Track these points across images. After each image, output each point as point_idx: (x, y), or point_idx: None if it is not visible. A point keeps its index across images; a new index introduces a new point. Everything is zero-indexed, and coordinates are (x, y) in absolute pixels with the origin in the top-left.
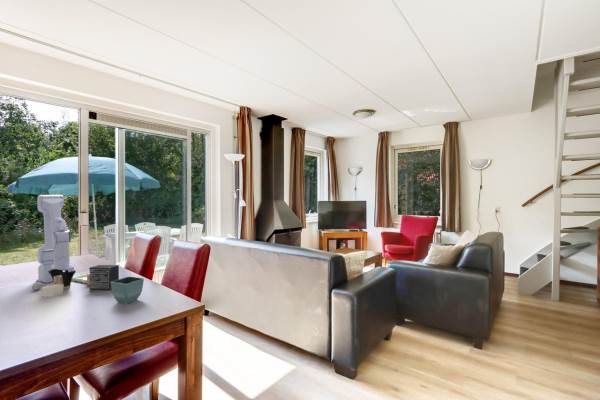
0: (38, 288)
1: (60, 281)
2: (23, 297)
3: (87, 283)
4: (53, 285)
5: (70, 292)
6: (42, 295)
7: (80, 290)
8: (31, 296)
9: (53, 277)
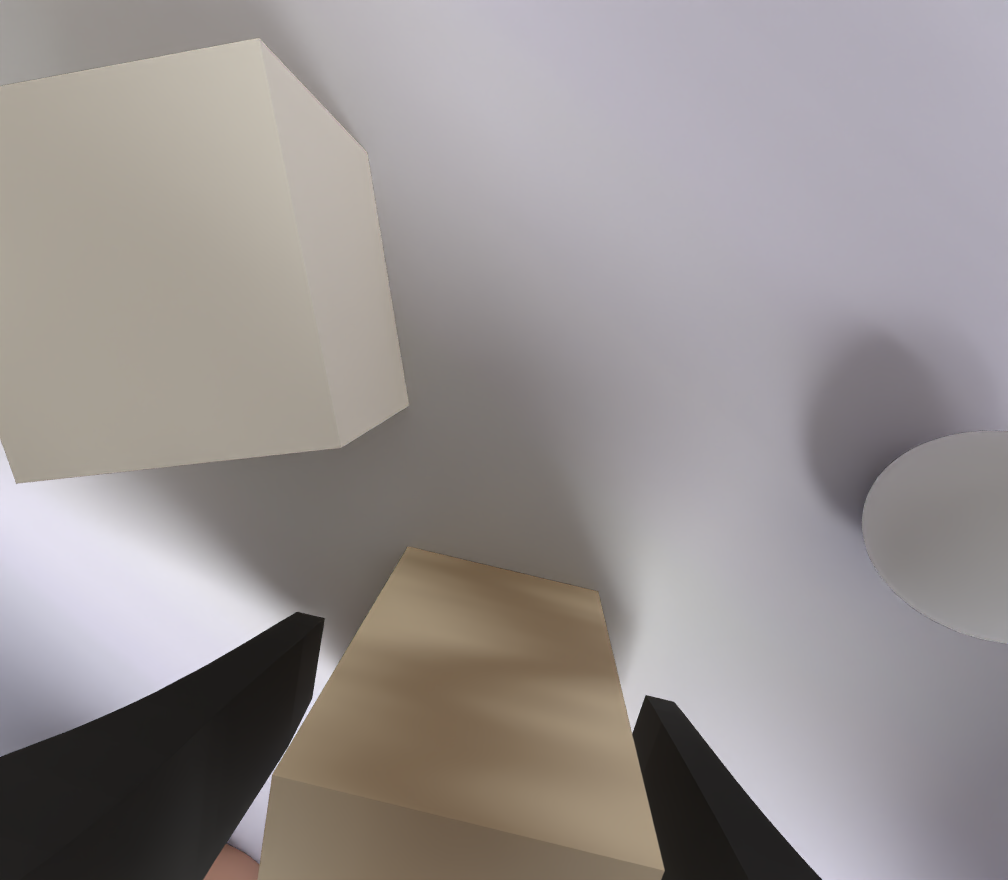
0: (875, 487)
1: (337, 681)
2: (747, 3)
3: (208, 872)
4: (175, 348)
5: None
6: (355, 144)
7: (36, 592)
8: (622, 109)
9: (736, 866)
